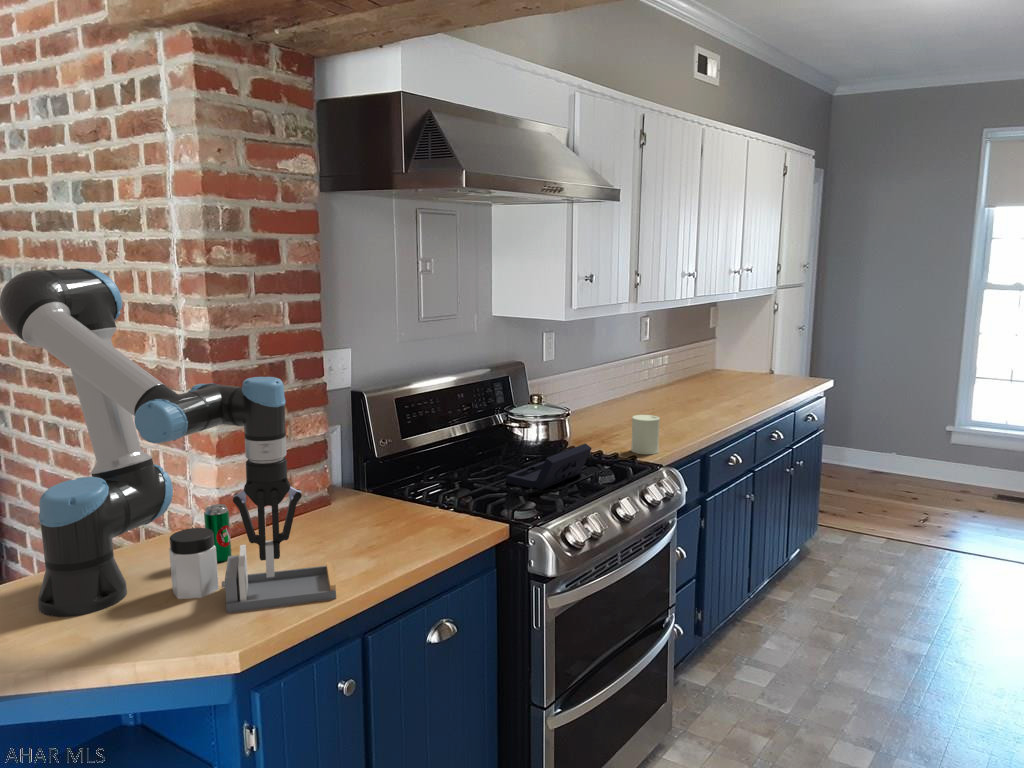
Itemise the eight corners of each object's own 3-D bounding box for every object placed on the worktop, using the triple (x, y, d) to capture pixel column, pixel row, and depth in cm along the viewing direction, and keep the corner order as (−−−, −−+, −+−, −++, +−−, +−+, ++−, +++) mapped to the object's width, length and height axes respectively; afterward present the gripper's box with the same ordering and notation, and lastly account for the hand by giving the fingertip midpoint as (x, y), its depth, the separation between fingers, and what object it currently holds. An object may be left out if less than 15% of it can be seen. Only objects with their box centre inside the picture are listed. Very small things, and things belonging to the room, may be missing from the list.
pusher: (220, 609, 148) (218, 569, 146) (224, 584, 158) (221, 546, 157) (246, 606, 149) (243, 566, 148) (248, 582, 160) (245, 544, 158)
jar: (224, 581, 162) (220, 526, 160) (213, 599, 154) (209, 541, 152) (179, 583, 161) (174, 528, 159) (166, 601, 153) (161, 542, 151)
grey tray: (226, 615, 147) (224, 581, 146) (230, 587, 160) (228, 555, 158) (336, 602, 153) (335, 568, 152) (331, 575, 165) (330, 544, 164)
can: (661, 454, 261) (662, 419, 259) (633, 454, 261) (634, 419, 259) (656, 447, 270) (657, 413, 268) (629, 447, 270) (630, 413, 268)
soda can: (206, 557, 175) (203, 505, 173) (230, 553, 177) (227, 502, 175) (207, 565, 171) (204, 512, 169) (232, 561, 173) (229, 509, 170)
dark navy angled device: (546, 467, 246) (546, 436, 245) (591, 476, 237) (591, 444, 235) (506, 483, 230) (506, 450, 228) (552, 494, 221) (552, 459, 219)
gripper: (229, 465, 146) (234, 585, 150) (302, 461, 149) (305, 578, 154) (231, 455, 153) (236, 570, 157) (300, 451, 156) (304, 563, 161)
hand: (270, 574), depth 155 cm, fingers closed
